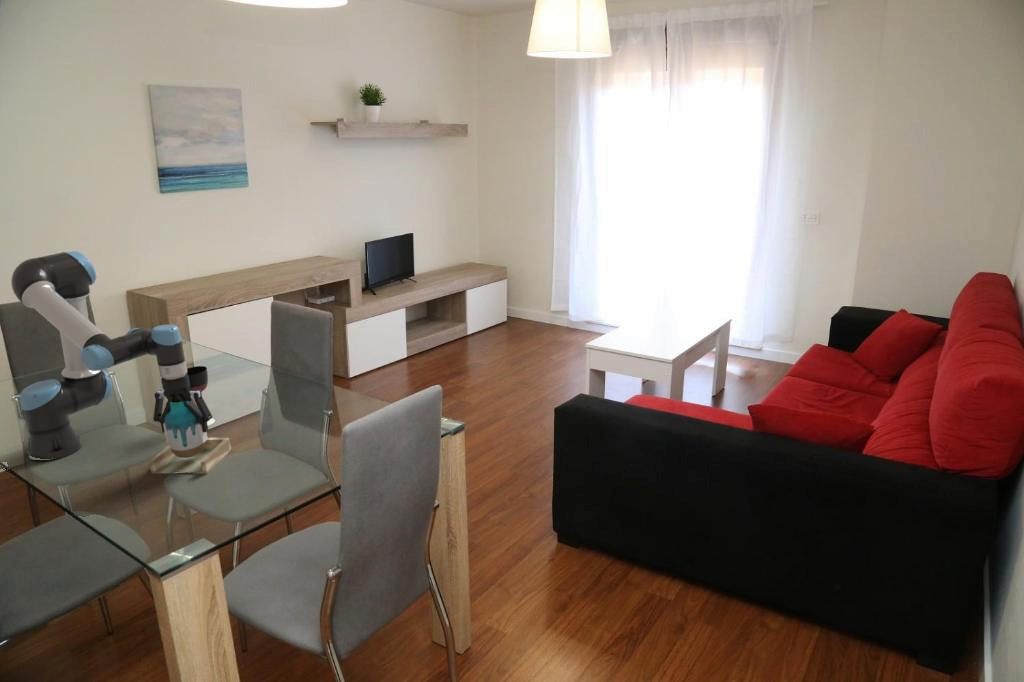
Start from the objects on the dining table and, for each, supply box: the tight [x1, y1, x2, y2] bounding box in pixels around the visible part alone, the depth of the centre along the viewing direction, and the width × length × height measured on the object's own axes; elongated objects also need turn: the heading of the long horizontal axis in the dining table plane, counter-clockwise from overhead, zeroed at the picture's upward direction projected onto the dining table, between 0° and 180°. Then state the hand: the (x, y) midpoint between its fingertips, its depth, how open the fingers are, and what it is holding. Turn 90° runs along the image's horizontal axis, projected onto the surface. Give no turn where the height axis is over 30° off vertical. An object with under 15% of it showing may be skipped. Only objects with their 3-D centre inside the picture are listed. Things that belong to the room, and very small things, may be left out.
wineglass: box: [187, 365, 216, 427], centre depth 246 cm, size 8×9×20 cm
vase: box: [165, 400, 205, 458], centre depth 217 cm, size 11×11×19 cm
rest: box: [148, 437, 232, 475], centre depth 221 cm, size 18×16×4 cm
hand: (187, 441), depth 219 cm, fingers closed on vase, 10 cm apart
